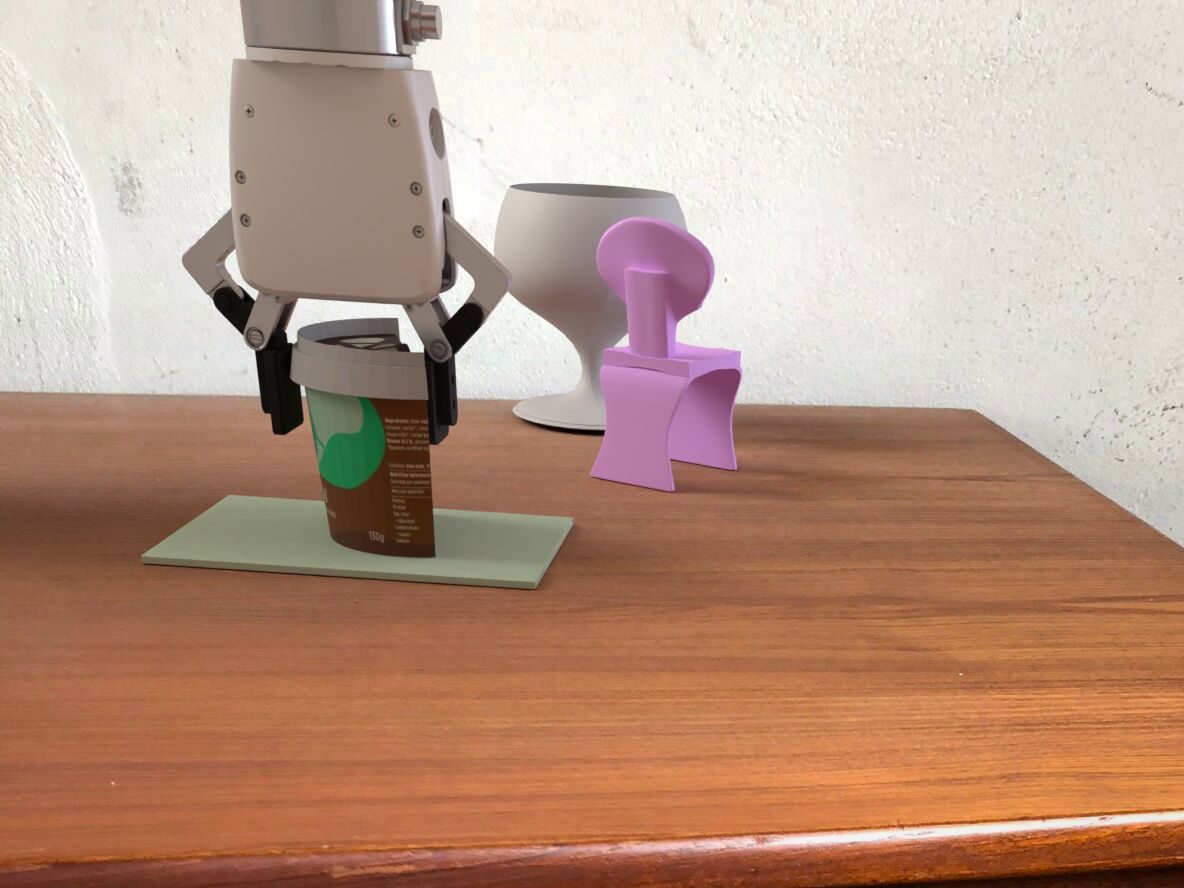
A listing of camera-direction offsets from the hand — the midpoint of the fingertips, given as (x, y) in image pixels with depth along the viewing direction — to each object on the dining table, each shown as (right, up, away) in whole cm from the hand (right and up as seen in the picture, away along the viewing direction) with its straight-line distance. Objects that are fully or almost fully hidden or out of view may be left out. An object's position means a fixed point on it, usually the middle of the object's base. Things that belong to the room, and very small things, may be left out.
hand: (362, 432), depth 79 cm
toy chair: (+15, +5, +21) cm, 26 cm away
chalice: (+8, +14, +34) cm, 38 cm away
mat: (0, -5, +3) cm, 6 cm away
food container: (0, -5, +3) cm, 5 cm away
